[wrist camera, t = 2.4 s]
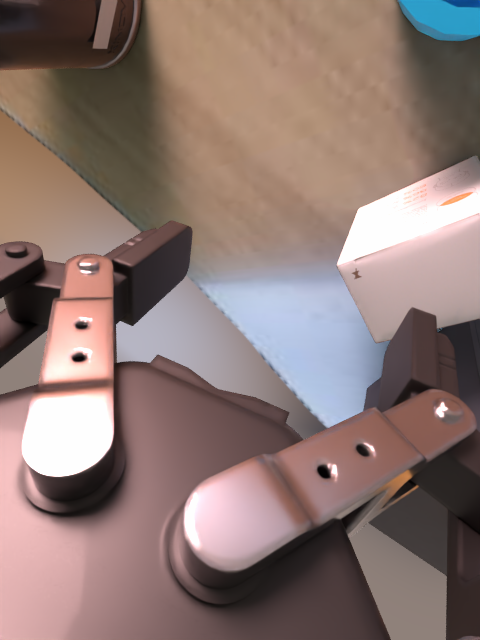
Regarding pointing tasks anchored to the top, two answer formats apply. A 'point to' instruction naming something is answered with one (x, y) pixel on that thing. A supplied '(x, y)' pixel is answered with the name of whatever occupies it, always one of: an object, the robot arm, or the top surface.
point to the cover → (418, 506)
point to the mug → (444, 18)
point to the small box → (417, 252)
